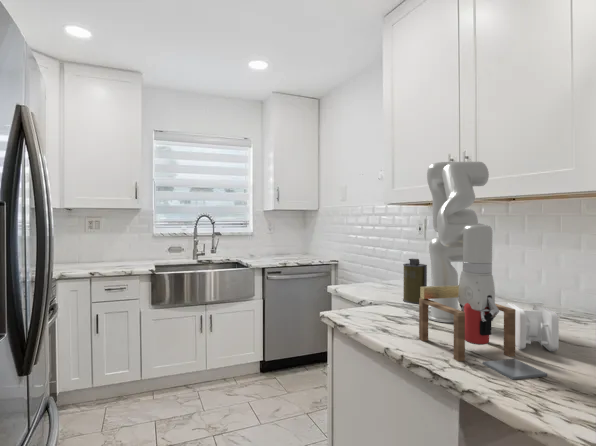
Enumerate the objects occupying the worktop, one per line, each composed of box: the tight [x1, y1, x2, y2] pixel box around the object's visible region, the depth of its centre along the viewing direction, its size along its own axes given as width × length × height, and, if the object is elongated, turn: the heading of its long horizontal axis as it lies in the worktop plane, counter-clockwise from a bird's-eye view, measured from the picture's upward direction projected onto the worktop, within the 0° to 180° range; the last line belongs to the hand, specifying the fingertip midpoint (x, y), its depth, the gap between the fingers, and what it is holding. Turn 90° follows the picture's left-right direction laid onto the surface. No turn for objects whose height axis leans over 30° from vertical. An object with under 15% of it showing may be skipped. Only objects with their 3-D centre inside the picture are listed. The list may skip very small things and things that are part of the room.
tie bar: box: [420, 284, 459, 300], centre depth 119 cm, size 2×18×4 cm, turn 103°
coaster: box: [481, 358, 548, 381], centre depth 94 cm, size 10×10×1 cm
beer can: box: [464, 303, 490, 346], centre depth 106 cm, size 7×7×12 cm
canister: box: [402, 258, 428, 304], centre depth 176 cm, size 11×10×20 cm
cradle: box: [418, 298, 516, 362], centre depth 111 cm, size 20×18×13 cm
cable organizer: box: [505, 302, 560, 353], centre depth 113 cm, size 15×11×12 cm
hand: (476, 330), depth 106 cm, fingers closed on beer can, 6 cm apart
